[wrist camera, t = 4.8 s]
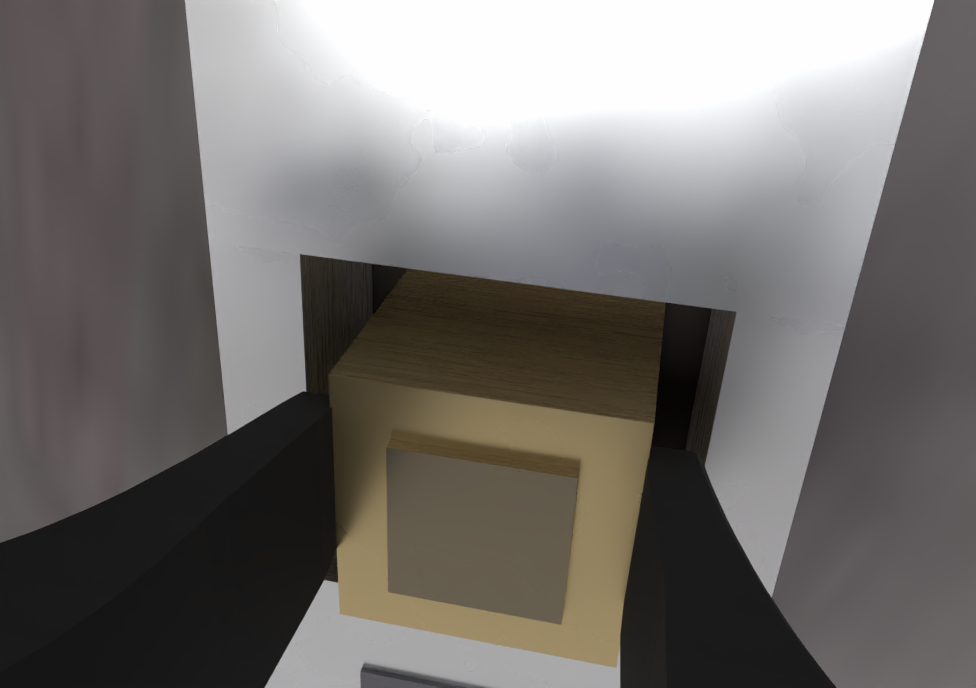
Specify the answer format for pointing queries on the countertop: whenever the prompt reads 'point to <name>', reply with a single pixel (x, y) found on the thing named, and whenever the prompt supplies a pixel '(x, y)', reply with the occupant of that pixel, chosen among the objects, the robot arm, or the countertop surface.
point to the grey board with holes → (549, 218)
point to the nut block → (495, 461)
